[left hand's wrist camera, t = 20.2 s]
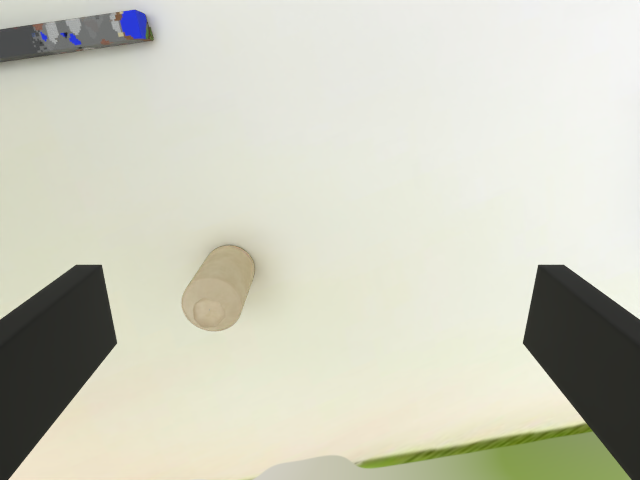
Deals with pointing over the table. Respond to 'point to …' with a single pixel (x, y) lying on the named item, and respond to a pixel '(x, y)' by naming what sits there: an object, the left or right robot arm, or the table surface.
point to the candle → (219, 289)
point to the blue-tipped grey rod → (74, 35)
